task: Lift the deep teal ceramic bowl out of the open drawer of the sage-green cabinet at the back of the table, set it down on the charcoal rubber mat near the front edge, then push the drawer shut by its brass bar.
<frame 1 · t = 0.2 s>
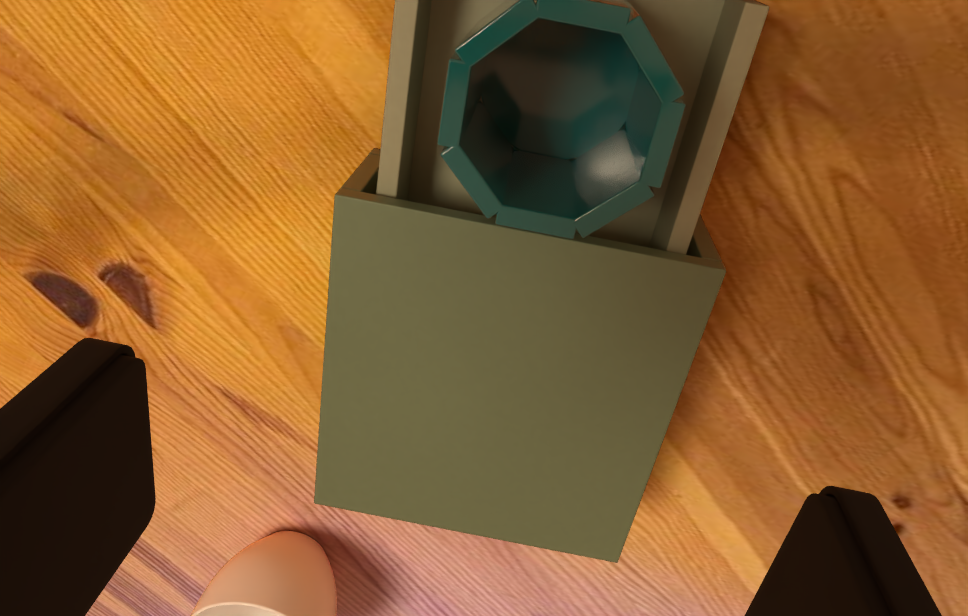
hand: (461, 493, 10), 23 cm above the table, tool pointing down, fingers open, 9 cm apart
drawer: (566, 47, 26), point 3 cm above the table, slide at 10.0 cm, touching bowl
bowl: (558, 79, 27), point 2 cm above the table, touching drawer
cabinet: (504, 329, 35), on the table
cup: (292, 564, 45), on the table
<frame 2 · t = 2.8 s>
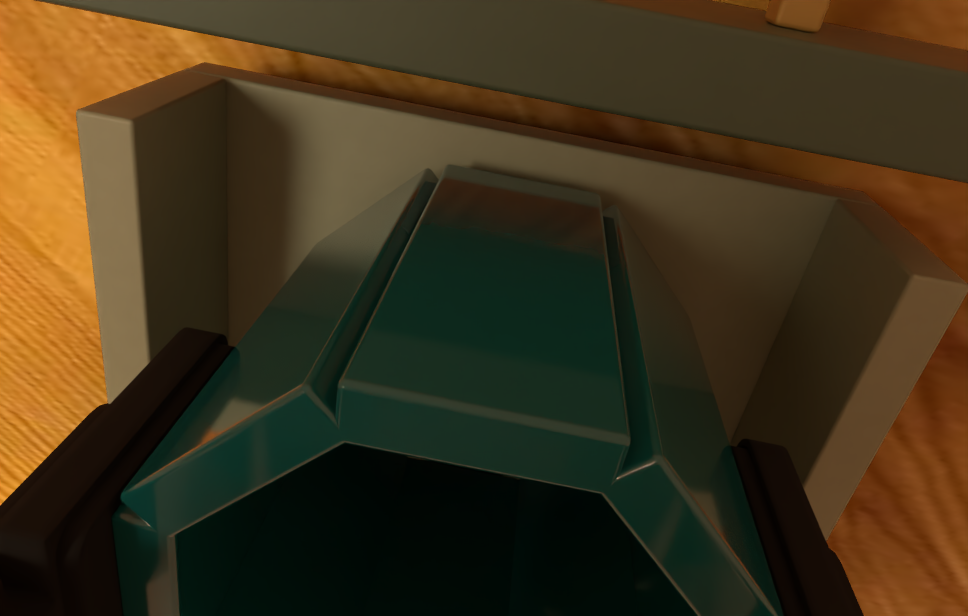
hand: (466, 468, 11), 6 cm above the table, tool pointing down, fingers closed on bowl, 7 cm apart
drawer: (497, 302, 12), point 3 cm above the table, slide at 10.0 cm, touching bowl
bowl: (490, 337, 14), point 2 cm above the table, touching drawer, gripper
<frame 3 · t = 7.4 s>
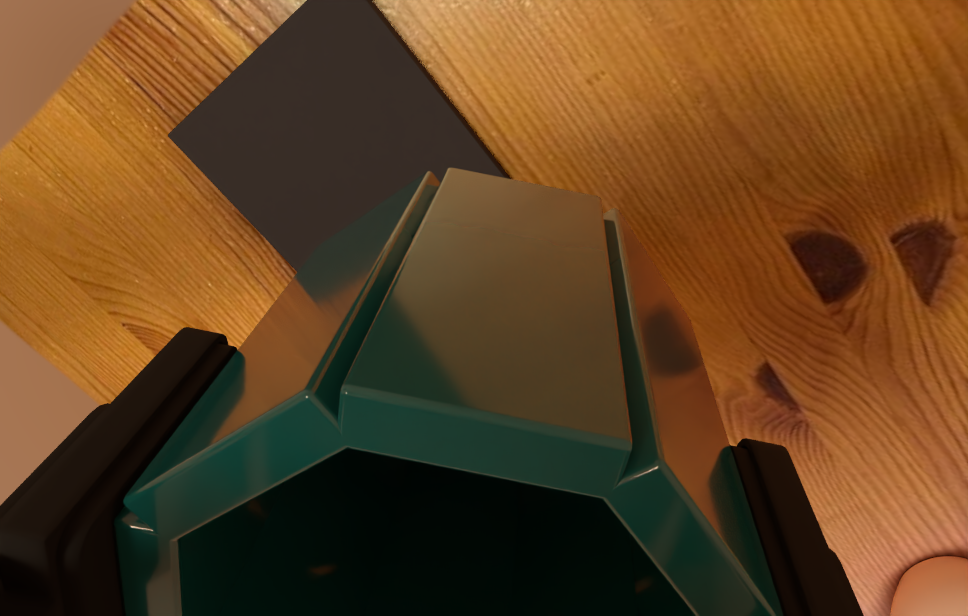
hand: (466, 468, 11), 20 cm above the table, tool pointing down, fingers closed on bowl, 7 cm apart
bowl: (491, 340, 14), point 16 cm above the table, touching gripper
cup: (926, 595, 38), on the table
mat: (341, 156, 29), on the table
when the fingers open (4 cm above the table, at t = 12.1 s): bowl stays where it is, resting on mat.
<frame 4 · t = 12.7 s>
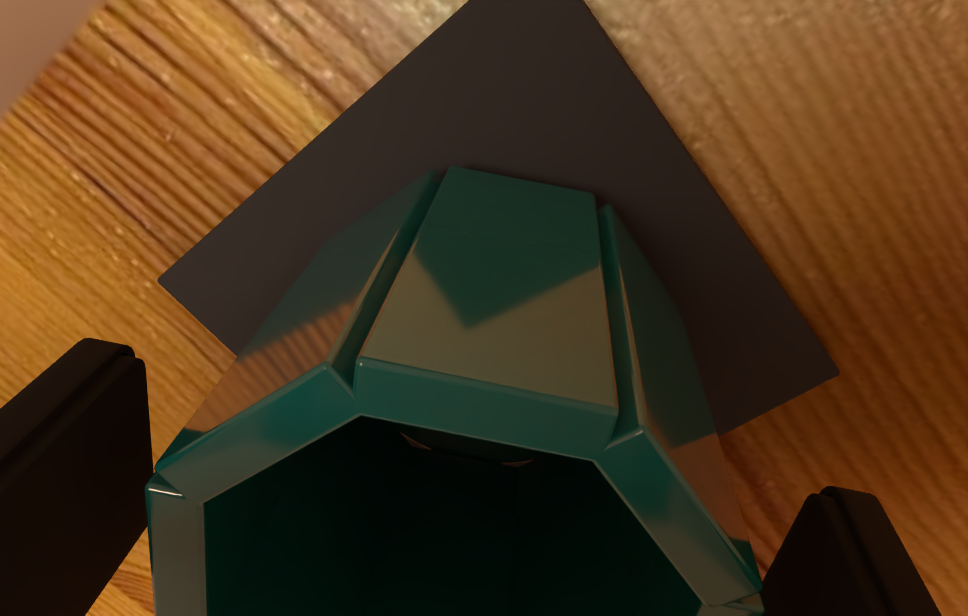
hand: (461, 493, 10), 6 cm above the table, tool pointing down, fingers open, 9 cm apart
bowl: (490, 331, 15), point 1 cm above the table, touching mat
mat: (494, 313, 15), on the table
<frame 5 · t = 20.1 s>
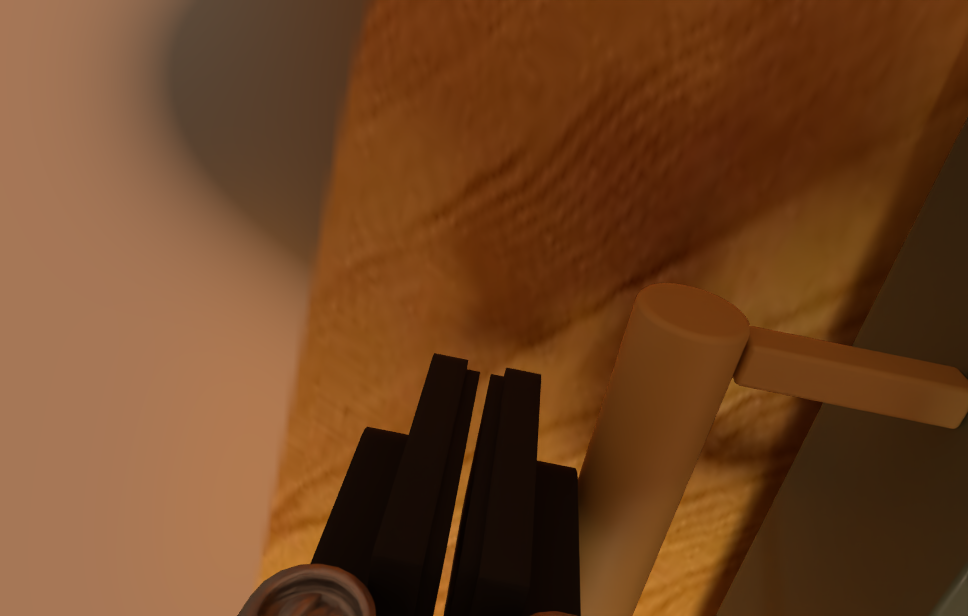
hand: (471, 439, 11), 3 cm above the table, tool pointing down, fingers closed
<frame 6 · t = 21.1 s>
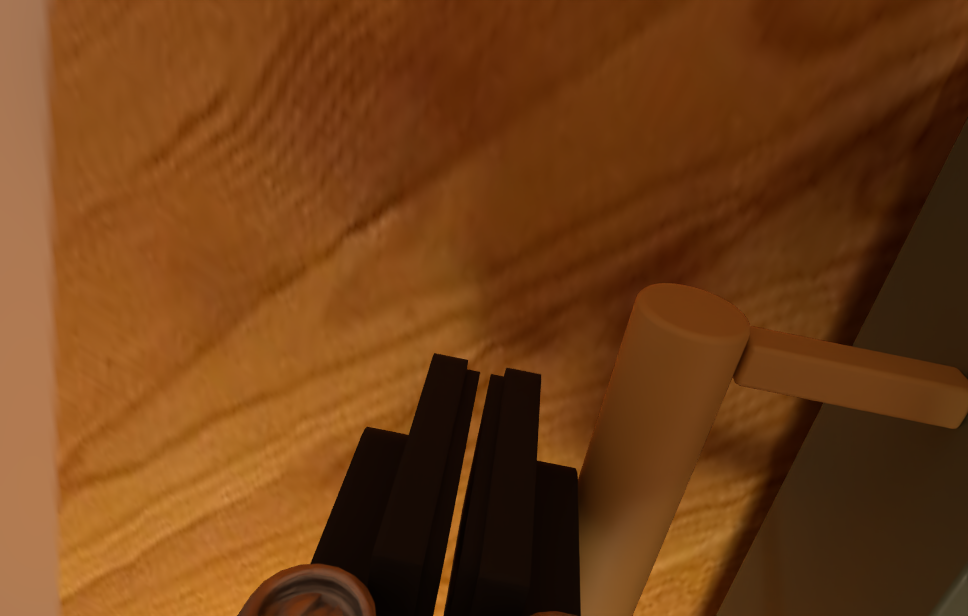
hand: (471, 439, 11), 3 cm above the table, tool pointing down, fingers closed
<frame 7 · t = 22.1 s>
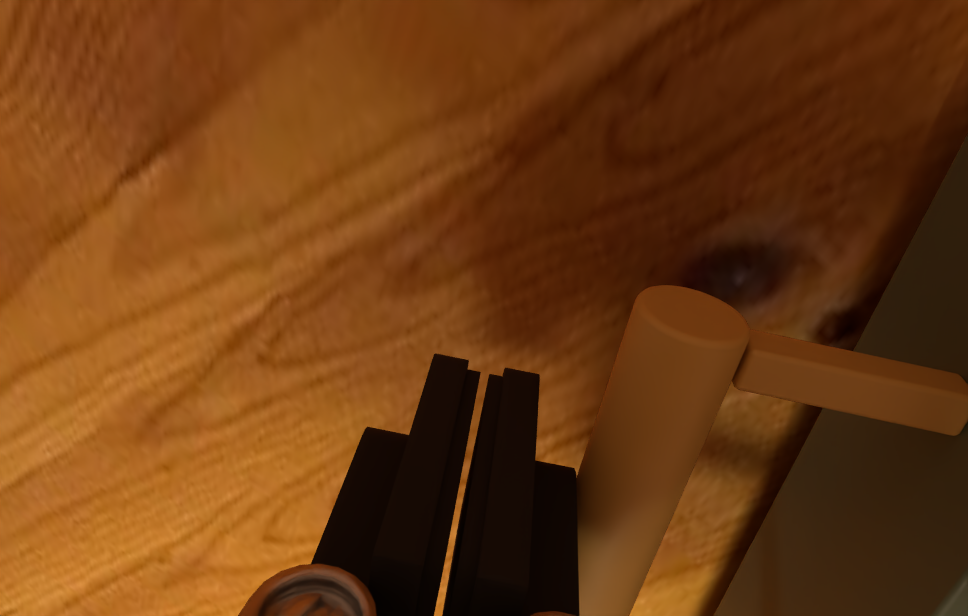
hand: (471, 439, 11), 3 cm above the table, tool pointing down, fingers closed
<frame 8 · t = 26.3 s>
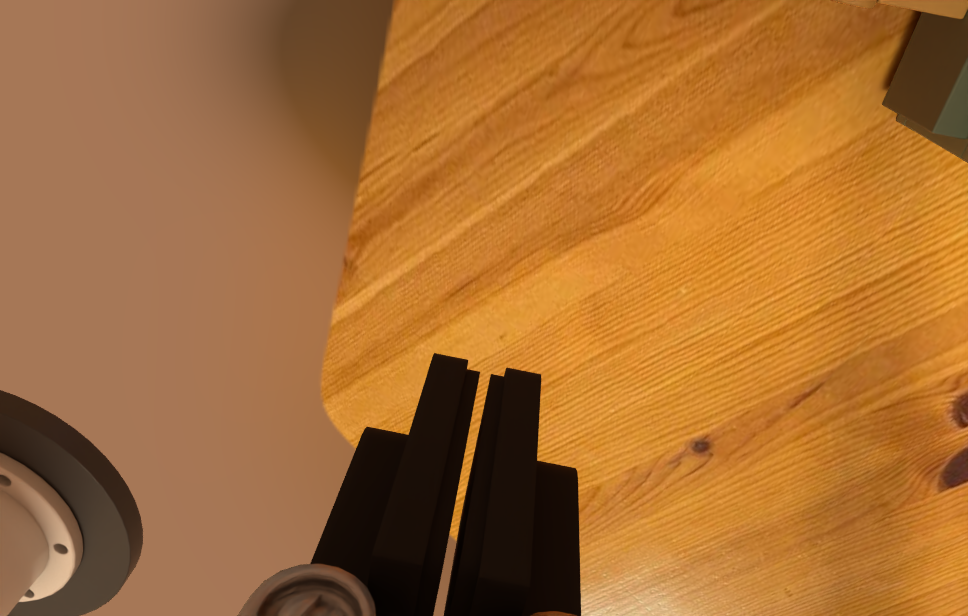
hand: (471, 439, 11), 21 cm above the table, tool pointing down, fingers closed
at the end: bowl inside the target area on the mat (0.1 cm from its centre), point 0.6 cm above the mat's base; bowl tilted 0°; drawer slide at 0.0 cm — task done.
